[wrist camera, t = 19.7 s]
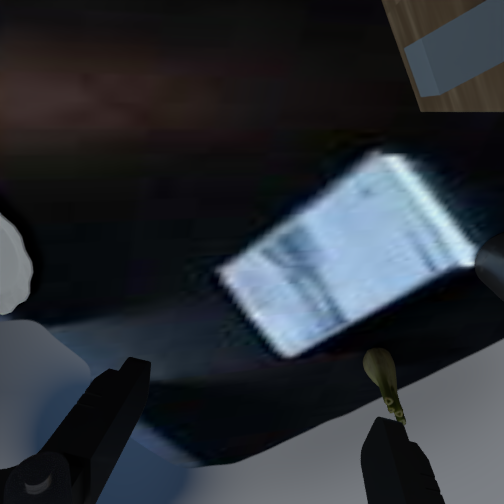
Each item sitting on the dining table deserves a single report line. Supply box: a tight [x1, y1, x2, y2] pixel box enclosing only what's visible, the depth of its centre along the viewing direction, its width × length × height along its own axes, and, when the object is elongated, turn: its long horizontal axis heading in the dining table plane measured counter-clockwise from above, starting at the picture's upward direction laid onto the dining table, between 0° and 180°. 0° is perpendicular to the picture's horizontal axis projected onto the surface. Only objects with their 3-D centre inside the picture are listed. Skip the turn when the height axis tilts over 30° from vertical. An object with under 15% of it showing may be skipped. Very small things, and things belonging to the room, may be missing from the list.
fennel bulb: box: [363, 348, 406, 425], centre depth 53 cm, size 6×5×12 cm
